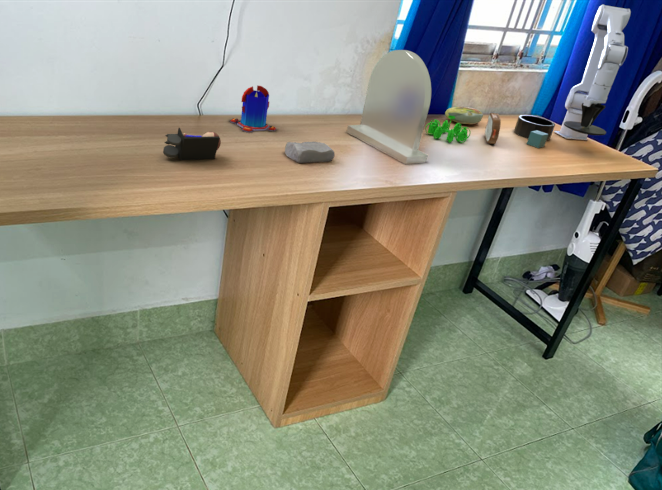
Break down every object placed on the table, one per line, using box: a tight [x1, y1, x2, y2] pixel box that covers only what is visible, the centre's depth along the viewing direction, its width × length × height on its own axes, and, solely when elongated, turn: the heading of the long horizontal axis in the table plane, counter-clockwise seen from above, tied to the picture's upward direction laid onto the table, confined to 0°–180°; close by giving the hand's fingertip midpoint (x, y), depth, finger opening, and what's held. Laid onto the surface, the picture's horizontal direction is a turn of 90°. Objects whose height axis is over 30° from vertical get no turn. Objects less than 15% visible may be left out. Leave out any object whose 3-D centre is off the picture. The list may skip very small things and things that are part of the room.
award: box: [346, 49, 432, 165], centre depth 180 cm, size 28×9×28 cm, turn 32°
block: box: [526, 130, 548, 149], centre depth 210 cm, size 4×4×4 cm
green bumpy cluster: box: [424, 116, 471, 144], centre depth 203 cm, size 15×15×7 cm
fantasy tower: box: [229, 85, 278, 133], centre depth 184 cm, size 12×12×12 cm
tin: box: [484, 112, 502, 145], centre depth 207 cm, size 15×3×8 cm, turn 168°
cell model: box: [444, 106, 484, 125], centre depth 223 cm, size 11×8×15 cm
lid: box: [564, 118, 607, 136], centre depth 207 cm, size 14×14×5 cm
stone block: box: [284, 141, 335, 164], centre depth 168 cm, size 12×5×10 cm
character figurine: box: [162, 127, 222, 161], centre depth 155 cm, size 8×7×15 cm
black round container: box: [513, 114, 556, 142], centre depth 221 cm, size 13×13×5 cm
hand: (585, 125), depth 207 cm, fingers closed on lid, 2 cm apart
